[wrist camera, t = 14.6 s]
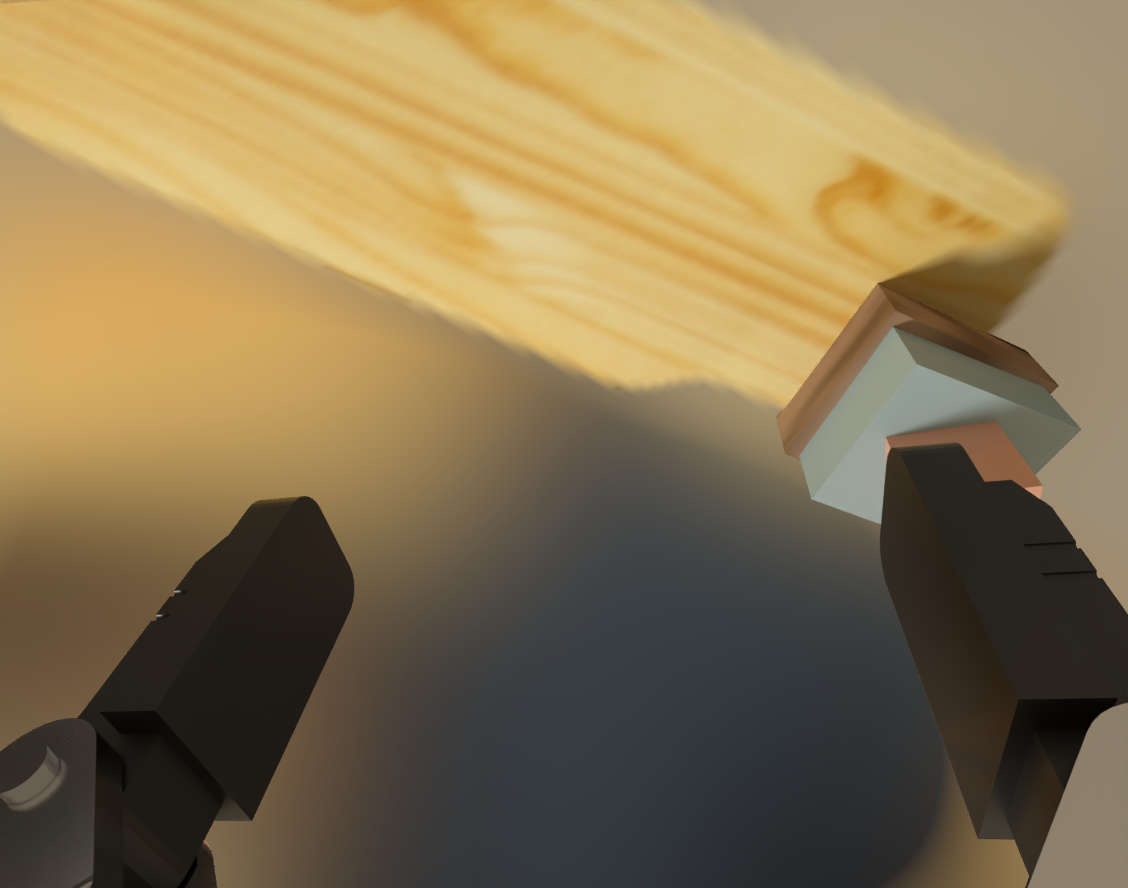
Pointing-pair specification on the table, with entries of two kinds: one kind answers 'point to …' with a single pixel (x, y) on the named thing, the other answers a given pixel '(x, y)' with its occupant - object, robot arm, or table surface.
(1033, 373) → the tower base block
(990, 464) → the terracotta block
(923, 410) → the tower top block
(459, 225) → the table surface
